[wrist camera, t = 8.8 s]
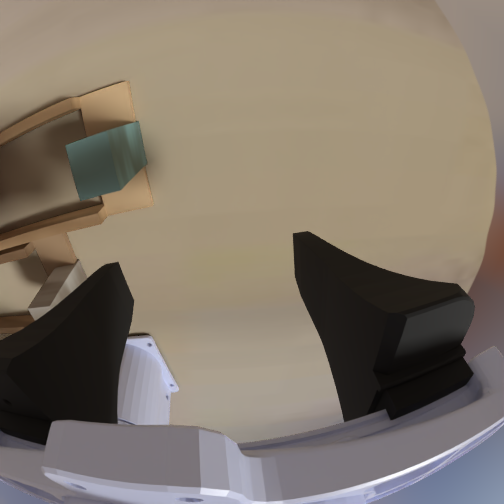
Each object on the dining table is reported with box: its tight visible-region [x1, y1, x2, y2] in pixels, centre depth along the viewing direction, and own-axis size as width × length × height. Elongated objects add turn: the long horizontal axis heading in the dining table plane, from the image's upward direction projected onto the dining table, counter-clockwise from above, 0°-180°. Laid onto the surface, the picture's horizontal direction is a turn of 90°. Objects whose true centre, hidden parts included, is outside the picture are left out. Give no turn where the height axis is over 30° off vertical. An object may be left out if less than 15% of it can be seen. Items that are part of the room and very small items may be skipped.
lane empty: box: [0, 233, 87, 334], centre depth 18 cm, size 9×20×6 cm, turn 97°
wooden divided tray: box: [0, 81, 154, 251], centre depth 14 cm, size 9×20×6 cm, turn 97°
